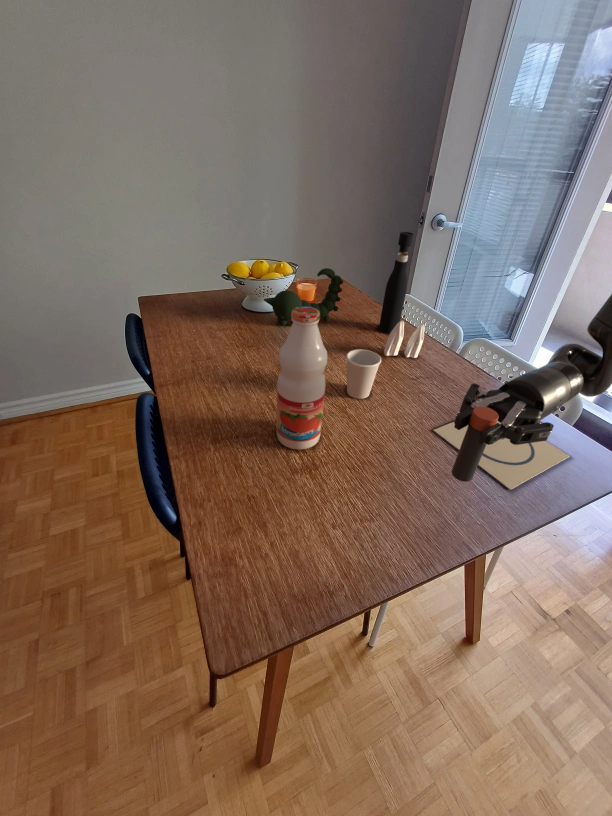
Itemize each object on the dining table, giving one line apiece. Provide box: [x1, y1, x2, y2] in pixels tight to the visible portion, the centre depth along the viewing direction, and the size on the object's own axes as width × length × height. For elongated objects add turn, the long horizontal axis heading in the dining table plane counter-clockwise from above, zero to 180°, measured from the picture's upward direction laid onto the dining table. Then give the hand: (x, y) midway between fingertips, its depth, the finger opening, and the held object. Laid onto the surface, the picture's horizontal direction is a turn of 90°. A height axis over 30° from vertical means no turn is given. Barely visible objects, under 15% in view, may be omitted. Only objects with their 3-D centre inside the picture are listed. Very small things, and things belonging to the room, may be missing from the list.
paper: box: [432, 420, 570, 491], centre depth 86 cm, size 20×20×1 cm
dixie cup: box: [345, 348, 382, 400], centre depth 97 cm, size 8×8×10 cm
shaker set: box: [383, 320, 426, 359], centre depth 114 cm, size 12×4×11 cm, turn 103°
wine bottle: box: [378, 231, 414, 335], centre depth 123 cm, size 6×6×30 cm
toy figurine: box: [263, 267, 344, 327], centre depth 127 cm, size 9×19×25 cm
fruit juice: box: [275, 306, 329, 450], centre depth 76 cm, size 9×9×28 cm
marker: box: [451, 406, 499, 483], centre depth 59 cm, size 3×3×12 cm
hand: (470, 431), depth 55 cm, fingers closed on marker, 3 cm apart
